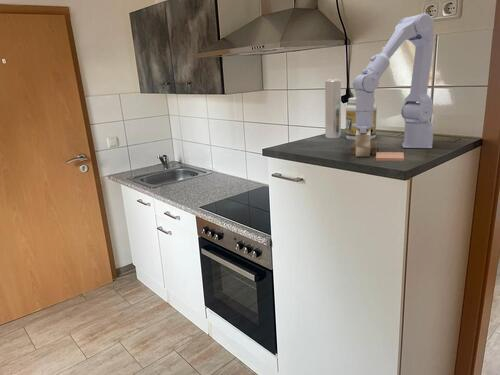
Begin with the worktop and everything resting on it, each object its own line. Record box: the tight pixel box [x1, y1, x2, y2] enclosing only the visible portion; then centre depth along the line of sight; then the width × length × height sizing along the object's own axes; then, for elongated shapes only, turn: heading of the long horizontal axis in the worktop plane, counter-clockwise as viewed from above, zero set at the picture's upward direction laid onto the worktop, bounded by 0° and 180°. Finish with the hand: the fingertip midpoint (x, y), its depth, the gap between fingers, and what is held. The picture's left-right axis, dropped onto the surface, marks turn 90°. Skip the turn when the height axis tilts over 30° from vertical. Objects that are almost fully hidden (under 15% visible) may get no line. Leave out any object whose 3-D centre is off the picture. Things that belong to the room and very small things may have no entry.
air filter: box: [324, 78, 342, 139], centre depth 166 cm, size 6×6×25 cm
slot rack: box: [350, 140, 379, 156], centre depth 138 cm, size 8×14×2 cm, turn 161°
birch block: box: [355, 129, 372, 157], centre depth 129 cm, size 4×4×8 cm
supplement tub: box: [345, 96, 378, 141], centre depth 160 cm, size 12×12×17 cm
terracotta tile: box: [375, 151, 405, 162], centre depth 125 cm, size 8×9×1 cm
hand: (363, 150), depth 133 cm, fingers closed
